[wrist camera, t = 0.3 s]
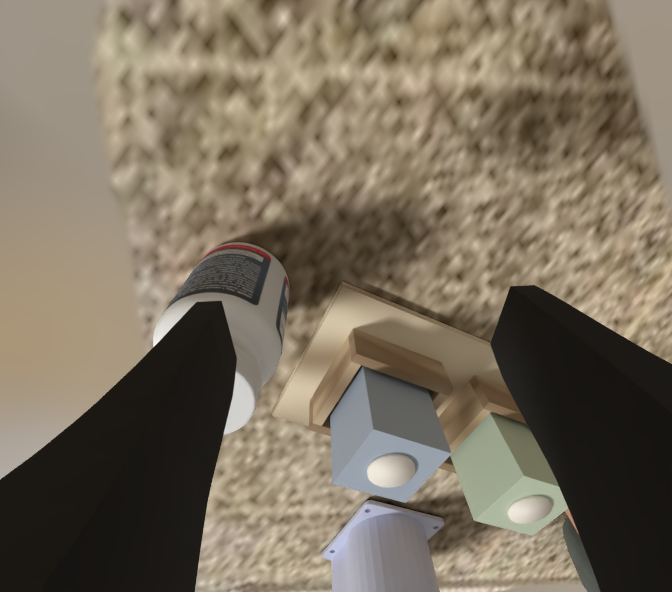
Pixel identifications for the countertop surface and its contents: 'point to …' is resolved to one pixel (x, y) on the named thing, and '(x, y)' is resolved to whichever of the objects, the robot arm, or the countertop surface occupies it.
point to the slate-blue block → (385, 436)
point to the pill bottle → (240, 315)
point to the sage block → (507, 477)
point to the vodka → (579, 557)
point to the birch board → (395, 365)
